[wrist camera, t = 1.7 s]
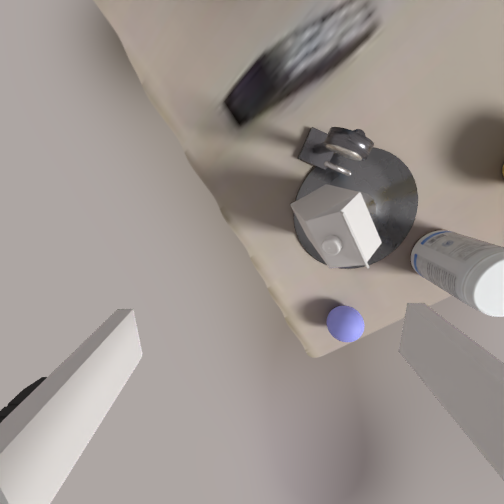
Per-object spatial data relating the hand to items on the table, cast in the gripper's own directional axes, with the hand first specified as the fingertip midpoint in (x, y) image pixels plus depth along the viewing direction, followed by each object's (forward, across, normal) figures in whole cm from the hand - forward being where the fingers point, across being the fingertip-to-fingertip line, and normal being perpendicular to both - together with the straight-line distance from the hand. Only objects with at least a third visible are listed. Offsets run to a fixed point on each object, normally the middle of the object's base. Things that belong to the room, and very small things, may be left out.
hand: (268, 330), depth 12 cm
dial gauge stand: (+34, +10, +11) cm, 37 cm away
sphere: (+35, +17, -21) cm, 44 cm away
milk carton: (+34, +10, +1) cm, 36 cm away
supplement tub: (+35, +34, -8) cm, 49 cm away
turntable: (+34, +17, 0) cm, 38 cm away
